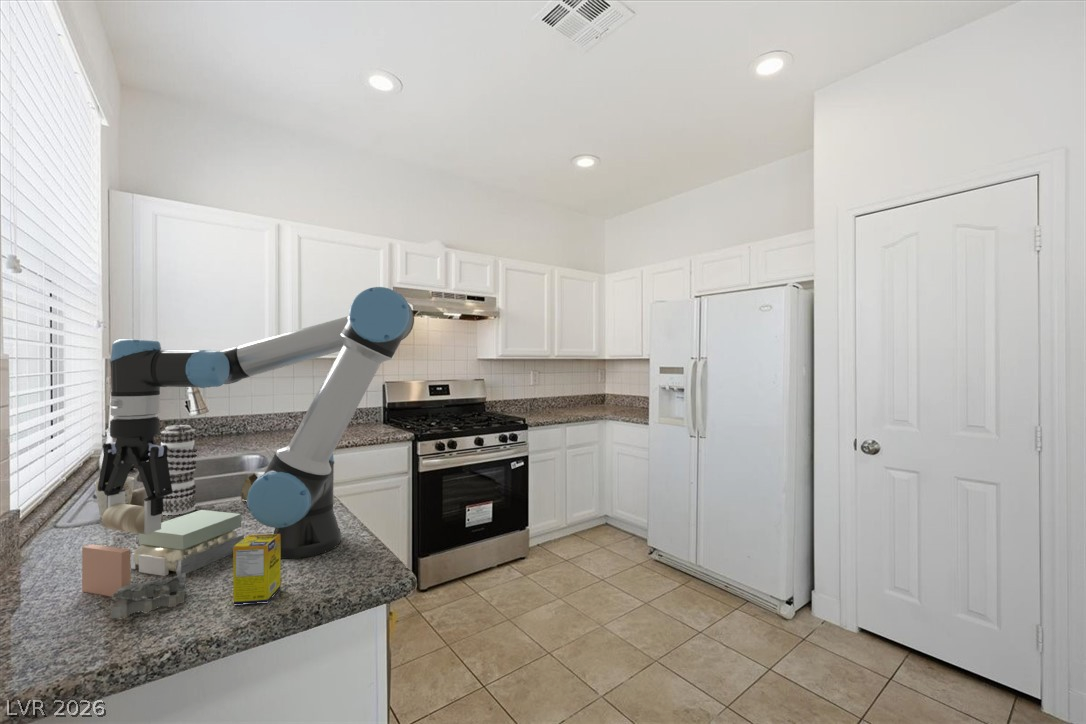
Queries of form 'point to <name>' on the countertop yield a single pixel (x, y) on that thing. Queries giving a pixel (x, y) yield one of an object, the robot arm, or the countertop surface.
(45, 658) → the countertop surface
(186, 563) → the roller bed
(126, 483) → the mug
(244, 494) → the rock
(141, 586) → the egg carton
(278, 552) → the supplement box
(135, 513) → the roller
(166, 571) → the roller cradle
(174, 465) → the decorative candle
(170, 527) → the slab
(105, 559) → the board
